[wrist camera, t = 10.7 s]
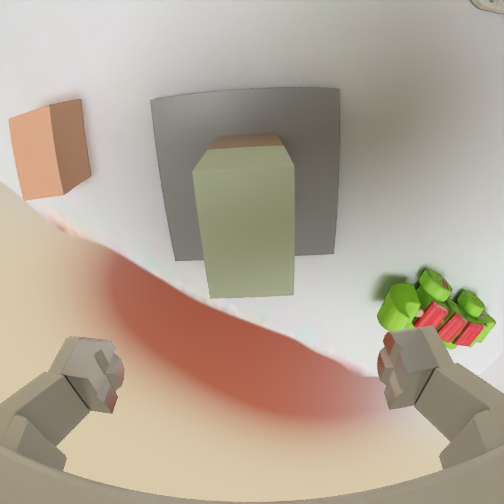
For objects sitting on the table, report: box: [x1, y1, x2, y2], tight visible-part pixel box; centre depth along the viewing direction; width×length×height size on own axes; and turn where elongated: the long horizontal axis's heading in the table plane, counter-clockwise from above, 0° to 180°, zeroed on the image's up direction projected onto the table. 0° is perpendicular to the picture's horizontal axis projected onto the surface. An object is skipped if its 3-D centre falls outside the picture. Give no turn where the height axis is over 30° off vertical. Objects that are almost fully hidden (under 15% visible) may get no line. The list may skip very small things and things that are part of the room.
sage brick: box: [192, 146, 295, 299], centre depth 17 cm, size 4×7×5 cm, turn 3°
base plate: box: [150, 88, 340, 261], centre depth 22 cm, size 14×14×6 cm
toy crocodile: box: [377, 269, 496, 349], centre depth 29 cm, size 20×7×6 cm, turn 66°
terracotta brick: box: [9, 99, 91, 201], centre depth 21 cm, size 4×7×5 cm, turn 1°
